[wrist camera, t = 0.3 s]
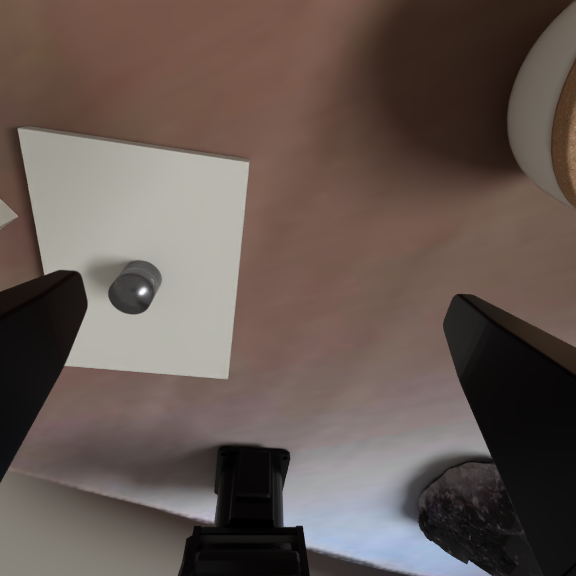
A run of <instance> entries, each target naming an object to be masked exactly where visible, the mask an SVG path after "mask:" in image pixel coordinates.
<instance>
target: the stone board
mask: <svg viewBox="0 0 576 576" xmlns="http://www.w3.org/2000/svg"><path fill="white" fill-rule="evenodd" d="M18 134H19V139H20V144H21V150H22V155H23V161H24V166H25V172H26V177H27V183H28V188H29V194H30V199H31V204H32V210H33V215H34V221H35V226H36V232H37V237H38V243H39V248H40V253H41V259H42V264H43V270H44V275H46V274H49V273H52V272H54V271H57V270H75V271H78V272H79V273H80V274H81V276H82V279H83V283H84V287H85V291H86V296H87V300H88V308H87V311H86V314H85V317H84V319H83V322H82V324H81V327H80V329H79V332H78V334H77V337H76V339H75V342H74V344H73V347H72V349H71V352H70V354H69V356H68V359H67V361H66V363H65V365H64V366H75V367H87V368H99V369H111V370H123V371H135V372H147V373H160V374H172V375H184V376H196V377H208V378H220V379H228V375H229V367H230V357H231V347H232V337H233V327H234V316H235V306H236V296H237V286H238V276H239V266H240V256H241V246H242V235H243V225H244V215H245V205H246V195H247V185H248V175H249V164H250V159H246V158H239V157H232V156H226V155H219V154H212V153H206V152H199V151H192V150H186V149H179V148H172V147H165V146H159V145H152V144H145V143H139V142H132V141H125V140H119V139H112V138H105V137H99V136H92V135H85V134H79V133H72V132H65V131H58V130H52V129H45V128H38V127H32V126H26V127H20V128H18ZM136 260H143V261H147V262H149V263H151V264H153V265H154V266H155V267H156V268H157V269H158V270H159V271H160V273H161V276H162V283H161V286H160V287H159V289H158V291H157V293H156V295H155V297H154V299H153V301H152V302H151V304H150V306H149V308H148V309H147V310H146V311H145V312H143V313H140V314H135V315H131V314H126V313H123V312H121V311H119V310H117V309H116V308H115V307H114V306H113V305H112V304H111V302H110V300H109V297H108V290H109V288H110V286H111V285H112V283H113V282H114V281H115V279H116V278H117V277H118V276H119V274H120V273H121V272H122V271H123V269H124V268H125V267H126V265H127V264H129V263H130V262H132V261H136Z"/></svg>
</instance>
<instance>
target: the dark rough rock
mask: <svg viewBox="0 0 576 576" xmlns="http://www.w3.org/2000/svg"><path fill="white" fill-rule="evenodd" d="M418 509H419V518H418V519H419V520H418V522H419V526H420V529H421V531H423V532H424V535H425V536H426V538H427V539H429V540H430V541H433V542H434V543H435V544H437V545H439V546H440V547H441V548H442V549H443V550H444V551H445V552H447V553H448V554H450V555H452V556H453V557H455V558H456V559H458V560H460V561H462V562H464V563H466V564H468V561H469V560H470V561H471V562H473V563H474V564H475V565H477V566H478V567H480V568H481V569H483V570H484V571H486V572H487V573H489V574H490V575H492V576H543V575H542V573H541V571H540V568H539V566H538V564H537V561H536V559H535V557H534V554H533V552H532V550H531V547H530V545H529V543H528V540H527V538H526V536H525V533H524V531H523V529H522V526H521V524H520V522H519V519H518V517H517V515H516V512H515V510H514V508H513V505H512V503H511V501H510V498H509V496H508V494H507V491H506V489H505V487H504V484H503V482H502V480H501V477H500V475H499V473H498V470H497V468H496V466H495V463H494V462H493V463H490V464H484V463H475V462H471V463H466V464H463V465H460V466H457V467H454V468H451V469H448V470H447V471H446V472H445V473H444V474H443V476H442V477H441V478H440V479H438V480H437V481H436V482H434V483H433V484H431V485H430V487H428V488H427V489H426V490H424V492H423V493H422V494H420V496H419V502H418Z"/></svg>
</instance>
